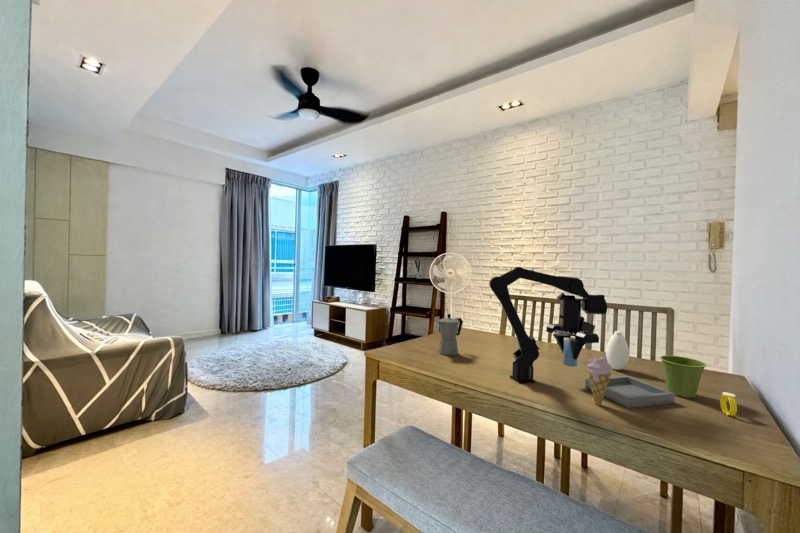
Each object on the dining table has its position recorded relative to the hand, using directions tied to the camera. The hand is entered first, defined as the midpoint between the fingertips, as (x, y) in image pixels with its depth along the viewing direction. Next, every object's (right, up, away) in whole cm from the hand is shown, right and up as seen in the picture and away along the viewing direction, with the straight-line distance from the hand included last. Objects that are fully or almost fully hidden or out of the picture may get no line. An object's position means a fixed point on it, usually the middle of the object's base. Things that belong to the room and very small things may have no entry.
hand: (570, 357), depth 116 cm
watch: (+35, -11, -21) cm, 42 cm away
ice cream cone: (0, -10, -17) cm, 19 cm away
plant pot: (+33, -11, -7) cm, 36 cm away
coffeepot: (-37, -8, +37) cm, 53 cm away
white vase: (+28, -10, +18) cm, 35 cm away
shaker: (0, -3, 0) cm, 3 cm away
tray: (+14, -10, -8) cm, 19 cm away
